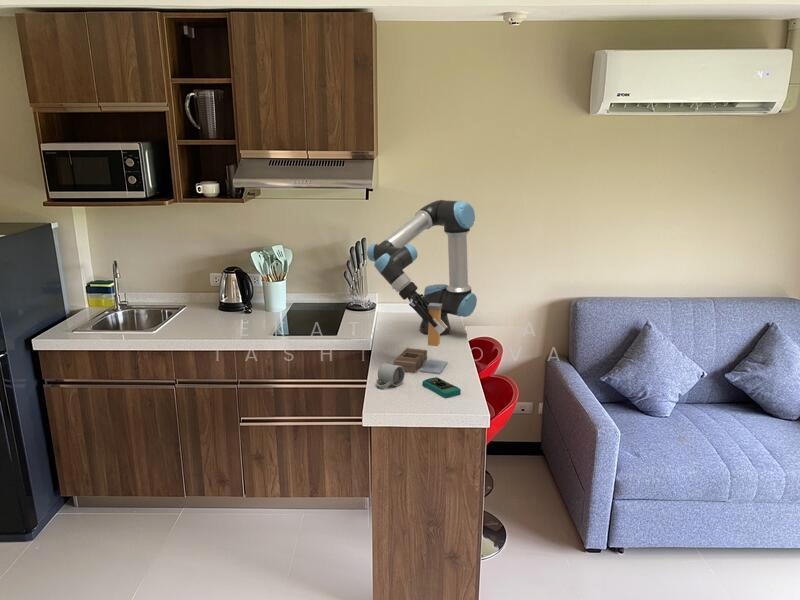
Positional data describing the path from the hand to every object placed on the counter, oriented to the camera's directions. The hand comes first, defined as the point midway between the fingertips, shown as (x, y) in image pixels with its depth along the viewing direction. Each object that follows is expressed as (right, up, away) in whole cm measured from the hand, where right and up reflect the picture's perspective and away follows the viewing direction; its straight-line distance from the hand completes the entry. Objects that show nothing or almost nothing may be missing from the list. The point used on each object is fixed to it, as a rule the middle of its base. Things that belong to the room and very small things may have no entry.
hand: (443, 330), depth 240 cm
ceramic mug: (-22, -20, -14) cm, 32 cm away
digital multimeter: (-2, -22, -18) cm, 28 cm away
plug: (-4, -6, +3) cm, 7 cm away
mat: (-3, -15, +5) cm, 17 cm away
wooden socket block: (-13, -14, +8) cm, 21 cm away
